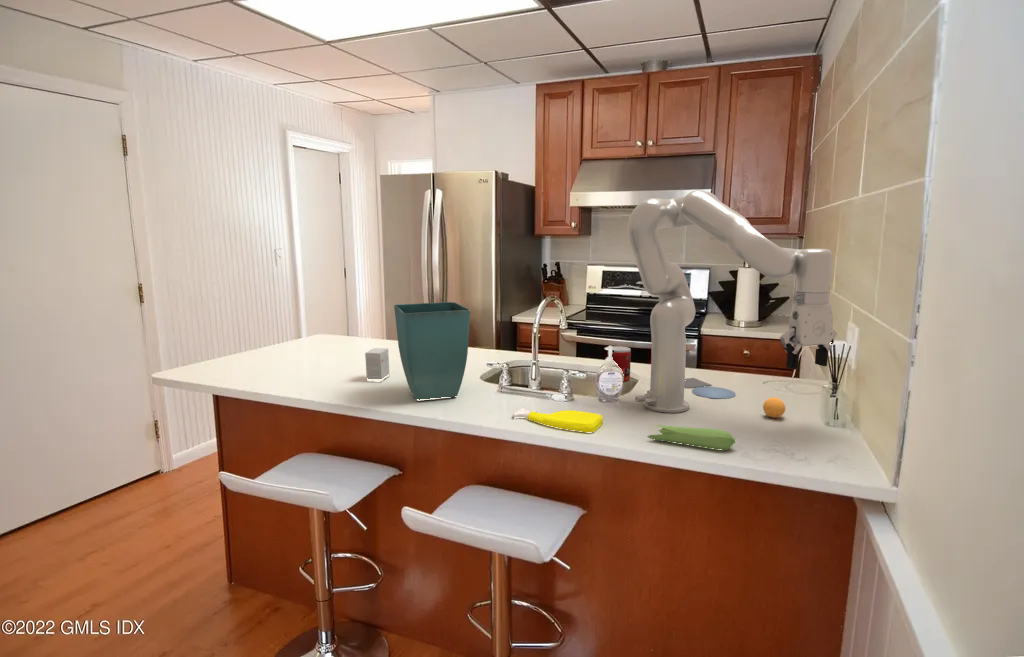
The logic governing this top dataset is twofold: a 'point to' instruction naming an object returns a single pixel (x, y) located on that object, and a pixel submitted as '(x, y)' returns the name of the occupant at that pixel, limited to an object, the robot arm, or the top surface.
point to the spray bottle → (565, 419)
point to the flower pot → (433, 347)
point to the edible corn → (695, 437)
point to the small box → (377, 363)
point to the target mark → (714, 392)
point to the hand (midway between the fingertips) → (806, 366)
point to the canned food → (623, 360)
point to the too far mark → (694, 383)
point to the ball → (774, 407)
